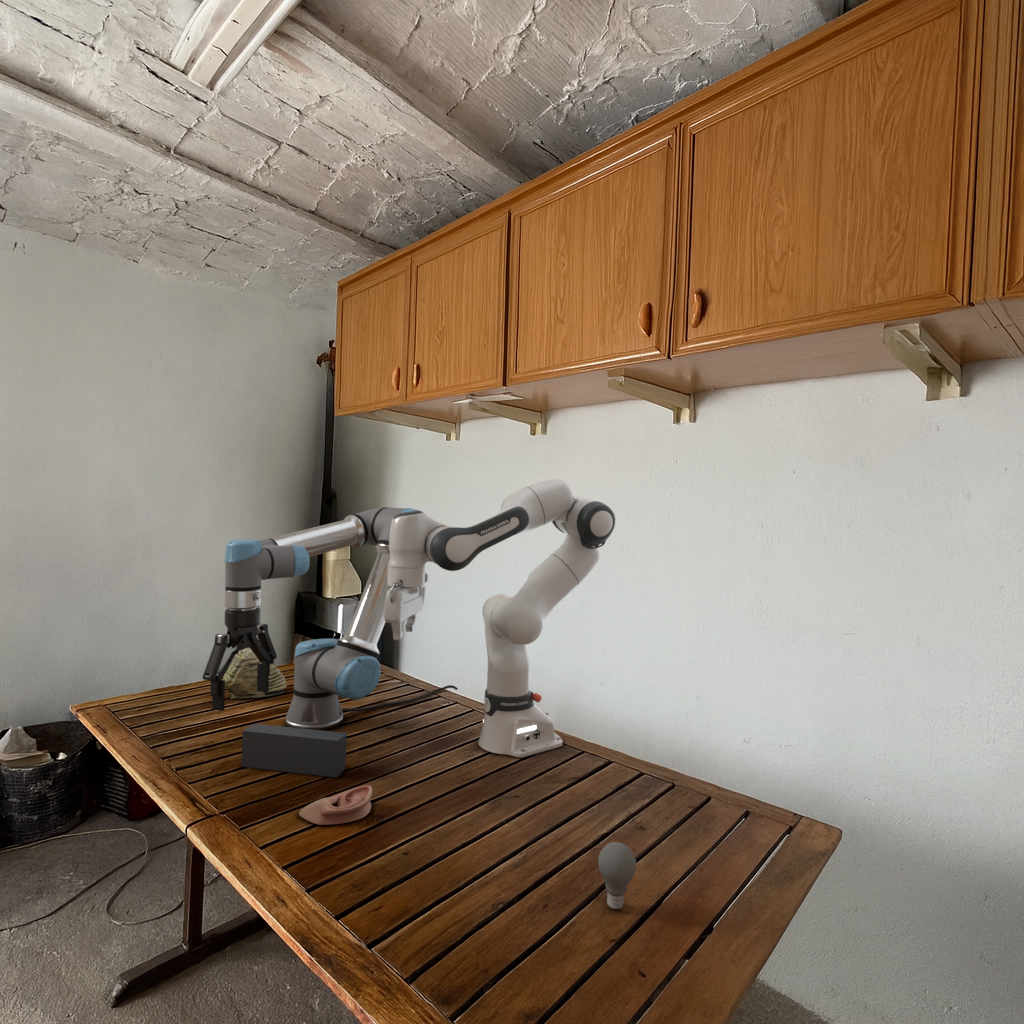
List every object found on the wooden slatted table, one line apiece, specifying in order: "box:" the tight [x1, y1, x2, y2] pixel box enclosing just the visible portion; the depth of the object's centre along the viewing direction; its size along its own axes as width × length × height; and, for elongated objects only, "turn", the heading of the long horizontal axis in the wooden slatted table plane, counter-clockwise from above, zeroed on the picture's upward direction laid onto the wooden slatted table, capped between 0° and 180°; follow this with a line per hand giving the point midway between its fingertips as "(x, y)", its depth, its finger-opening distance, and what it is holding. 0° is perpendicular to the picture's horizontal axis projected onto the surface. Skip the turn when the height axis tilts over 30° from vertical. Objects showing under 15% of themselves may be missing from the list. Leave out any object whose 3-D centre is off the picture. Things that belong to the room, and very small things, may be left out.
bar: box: [240, 722, 348, 778], centre depth 147 cm, size 23×5×8 cm, turn 81°
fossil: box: [222, 648, 288, 699], centre depth 198 cm, size 9×18×15 cm, turn 132°
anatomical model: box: [298, 784, 373, 826], centre depth 127 cm, size 13×4×12 cm
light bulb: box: [597, 841, 637, 910], centre depth 101 cm, size 6×6×10 cm
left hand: (241, 700), depth 144 cm, fingers open, 13 cm apart
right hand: (403, 635), depth 153 cm, fingers open, 8 cm apart
